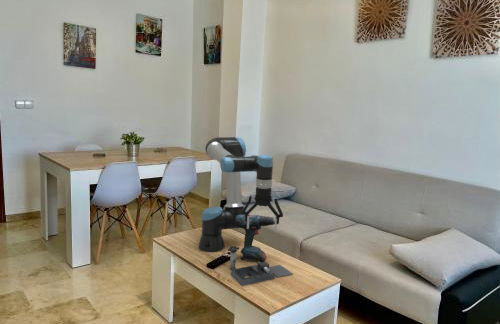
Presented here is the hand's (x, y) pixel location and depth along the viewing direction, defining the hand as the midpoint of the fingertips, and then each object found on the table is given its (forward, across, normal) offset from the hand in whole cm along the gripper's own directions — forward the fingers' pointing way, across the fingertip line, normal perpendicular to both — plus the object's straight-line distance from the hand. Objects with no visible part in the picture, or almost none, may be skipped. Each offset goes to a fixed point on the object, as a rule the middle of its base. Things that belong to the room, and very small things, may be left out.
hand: (261, 229), depth 189 cm
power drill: (+24, -4, +18) cm, 30 cm away
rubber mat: (+24, +10, +5) cm, 26 cm away
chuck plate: (+24, -3, -4) cm, 24 cm away
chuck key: (+24, -14, +2) cm, 28 cm away
